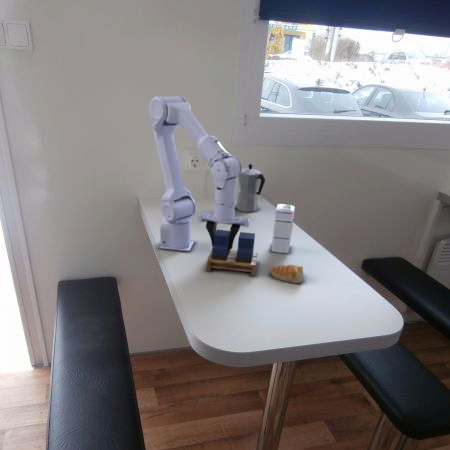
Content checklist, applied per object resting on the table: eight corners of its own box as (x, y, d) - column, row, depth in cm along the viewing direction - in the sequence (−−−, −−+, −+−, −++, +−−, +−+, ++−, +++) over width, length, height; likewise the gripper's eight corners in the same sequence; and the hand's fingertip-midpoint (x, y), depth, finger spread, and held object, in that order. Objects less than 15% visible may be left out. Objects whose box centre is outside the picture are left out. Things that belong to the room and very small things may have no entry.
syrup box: (288, 253, 133) (294, 210, 125) (270, 251, 133) (275, 208, 126) (289, 246, 137) (295, 205, 130) (272, 244, 138) (277, 203, 131)
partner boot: (238, 251, 123) (240, 231, 120) (253, 253, 123) (255, 233, 120) (236, 261, 117) (237, 240, 114) (251, 263, 117) (253, 242, 114)
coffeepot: (228, 205, 171) (231, 161, 162) (245, 202, 176) (249, 159, 167) (252, 216, 161) (256, 170, 152) (269, 212, 166) (274, 167, 157)
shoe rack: (206, 270, 119) (207, 260, 117) (212, 258, 127) (212, 247, 125) (254, 276, 118) (255, 265, 116) (256, 263, 126) (257, 252, 124)
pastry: (269, 280, 116) (270, 268, 114) (271, 269, 122) (273, 258, 120) (302, 284, 115) (304, 272, 113) (303, 274, 121) (305, 262, 119)
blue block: (216, 249, 124) (217, 229, 121) (230, 251, 124) (231, 231, 120) (211, 259, 118) (212, 238, 115) (226, 260, 118) (227, 240, 114)
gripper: (252, 200, 116) (248, 244, 123) (202, 195, 118) (201, 238, 125) (249, 208, 110) (245, 253, 117) (197, 202, 112) (196, 247, 119)
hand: (222, 246), depth 121 cm, fingers closed on blue block, 4 cm apart
